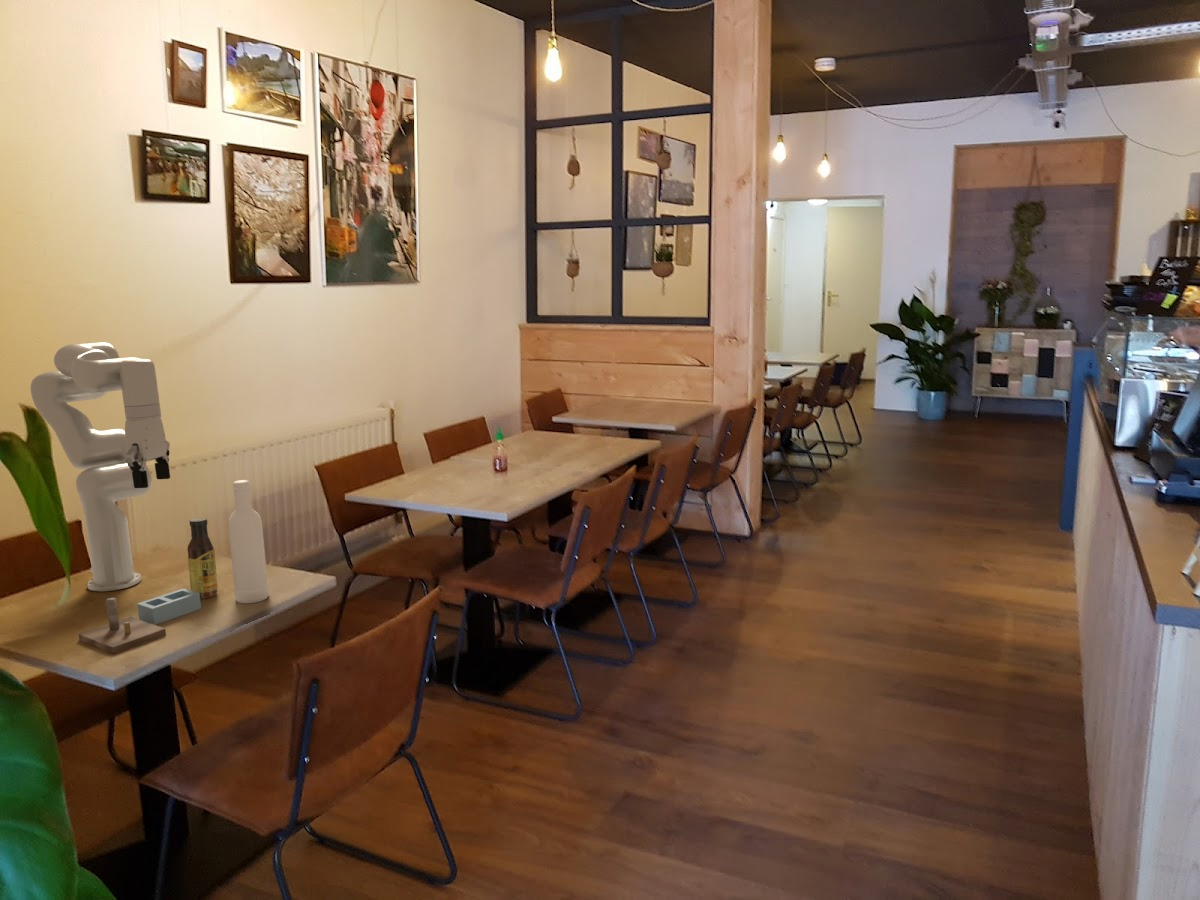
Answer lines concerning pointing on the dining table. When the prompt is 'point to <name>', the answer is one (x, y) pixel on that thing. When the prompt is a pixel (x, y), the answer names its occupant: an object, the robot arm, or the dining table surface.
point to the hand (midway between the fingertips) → (152, 483)
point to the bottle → (247, 548)
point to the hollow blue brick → (169, 606)
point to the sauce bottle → (201, 560)
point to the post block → (120, 632)
